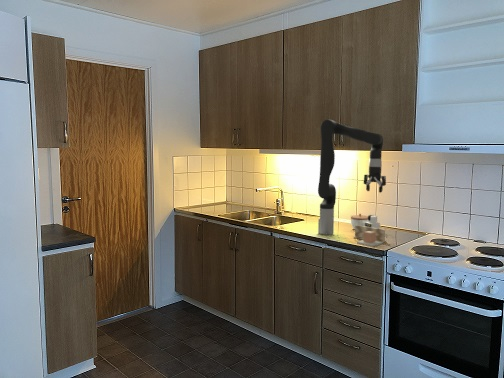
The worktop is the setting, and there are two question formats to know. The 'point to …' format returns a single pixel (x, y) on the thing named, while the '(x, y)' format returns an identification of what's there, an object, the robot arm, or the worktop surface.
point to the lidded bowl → (358, 220)
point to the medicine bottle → (372, 222)
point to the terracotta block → (369, 236)
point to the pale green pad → (369, 243)
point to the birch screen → (361, 229)
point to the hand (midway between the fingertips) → (374, 191)
